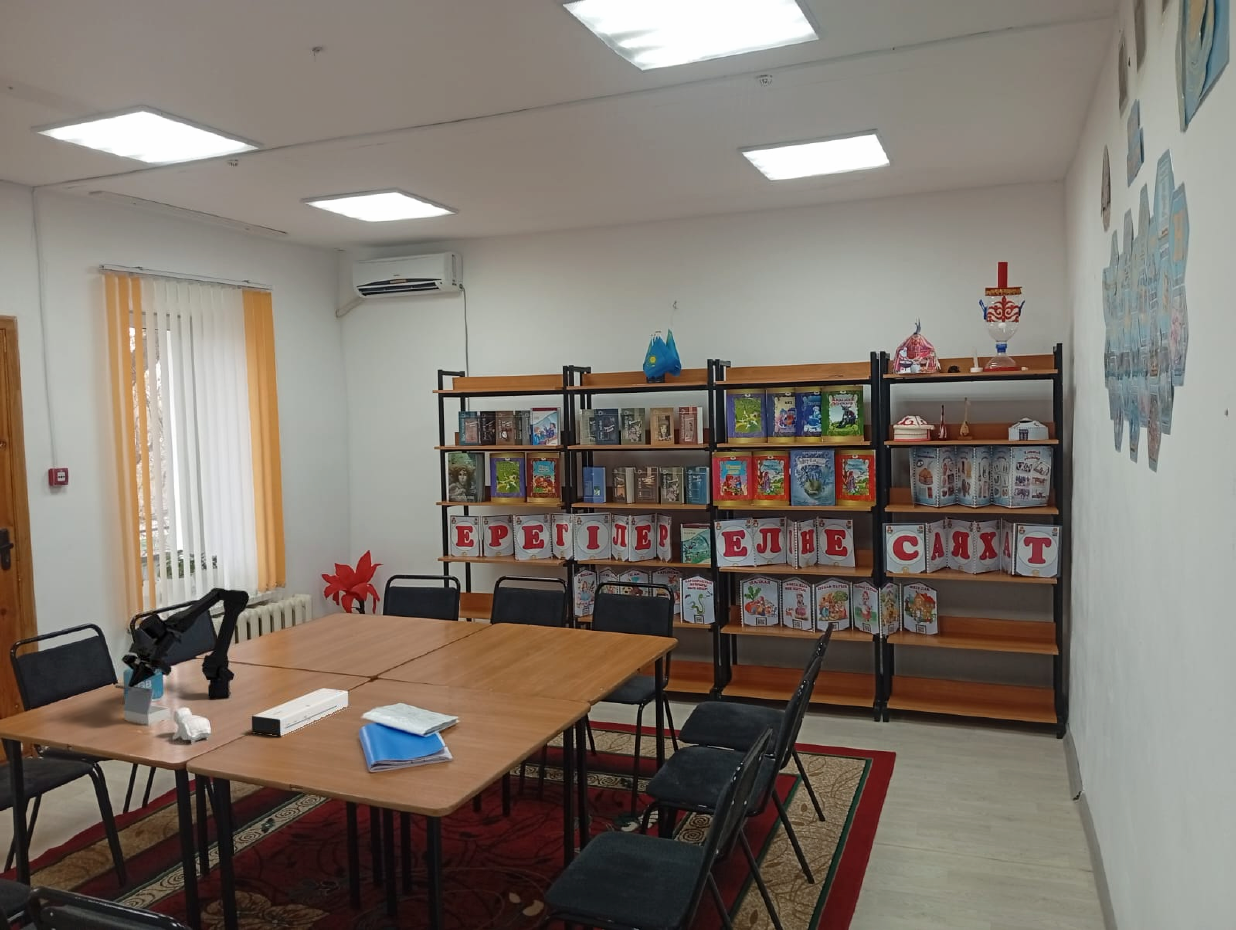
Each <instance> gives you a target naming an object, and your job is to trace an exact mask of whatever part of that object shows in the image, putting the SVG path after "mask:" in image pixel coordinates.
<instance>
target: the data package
mask: <svg viewBox="0 0 1236 930" xmlns="http://www.w3.org/2000/svg"><path fill="white" fill-rule="evenodd" d="M132 673H133V669H131V668H130V667H128V668H126V669H124V671H123V673H122V674H123V686H128V685H129V682H130V679H131V676H132ZM155 674H156V675H155V676H152V677H150V678H148V679H146V680H144V681H142V682H140V683H139V684H137V685H135V687H141V688H146V689H152V690H154V693H153V698H152V699H153V700H156V698H157V699H160V698H162V697H163V695H164V675H162V670H159V669H158V670H157V671H156V672H155ZM127 693H128V690H125V689H123V699H124V701H126V697H127Z"/></svg>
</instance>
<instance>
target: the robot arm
mask: <svg viewBox="0 0 1236 930" xmlns="http://www.w3.org/2000/svg"><path fill="white" fill-rule="evenodd" d="M220 601H223V603H222V606H223V610H224V614H223V617H222V621H221V623H220V627H219V629H218V634H217V638H216V640H215V644H214V645H213V649H212V652H211V653H210V654H208V655H207V654H206V655H204V657H203V662H202V664H201V667H202V668H201V671H202V674H203V675H204V677H205V679H206V681H209V684H208V686H207V687H208V688H207V691H208V699H209V700H220V699H222V700H223V699H229V697H230V696H231V694H232V692H231V689H230V688H231V685H230V684H231V683H230V682H231V681H233V680H234V678H235V673H234V672H233V671H232V670H231V669H230V668H229V665H230V662H229V661H230V660H229V658H228V657H229V656H228V652H229V650H230V646H231V642H232V639H233V636H234V634H235V633H234V632H235V629H236V626H237V623H238V619H239V617H240V614H242V613H243V612H244V610H246V607H247V606H248V603H249V601H250V596H249V594H248V592H247V590H241V589H240V590H239V589H229V590H228V589H225V588H222V587H213V588H211V590H210V591H209V592H208V593H206V594H205V595H203V596H202V597H201V598H199V599H198V600H197V601H195V602H194V603H193V604H192V605H190V606H189V607H188V608H185V609H183V610H180V611H178V612H175V613H173V614H171V615H169V616H168V617H167V618H166V619H162V618H161V617H160V615H159V614H158V613H151V615H149V616H147V617H146V618H144V619H142V620H141V621H140V622H139V626H138V629H139V630H141V632H143V633H144V634H145V635H146V636H147V637H148V638H149V639H151V640H153V641H152V643H150V642H145V643H144V644H142V643H136V642H131V645H130V647H129V650H128V653H129V654H124V656H123V657H122V658H121V659H120V661H121V662H123V663H124V664H125V665H126V666H127V667H128V668H131V669H133V673H132V676H131V679H130V682H129V685H128V686H129V687H133V686H135V685H137V684H139V683H140V682H142V681H144V680H146V679H148V678H150V677H152V676H155V675H156V674H155V672H156V671H157V670H158V669H159V670H162V675H163V676H166V677H168V676H169V675H170V674H171V672H172V667H171V665H169V664H168V662H166V661H165V660H164V658H168V656H169V654H168V652H169V651H170V650H171V648H172V647H173V645H174V644H178V645H180V644H181V645H182V639H181V638H182V636H181V635H179V634H178V635H177V634H175V633H180V634H185V633H187V632H188V631H189V630H190V629H191V628H192V627H193V626H194V625H195V622H196V620H197V619H198V618H199V617H201V616H202V615H203V614H204V613H206V612H207V611H208V610H210V609H211V608H212V607H214V606H215V605H216V604H218V603H220ZM132 653H133V654H132ZM135 654H136V655H135Z"/></svg>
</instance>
